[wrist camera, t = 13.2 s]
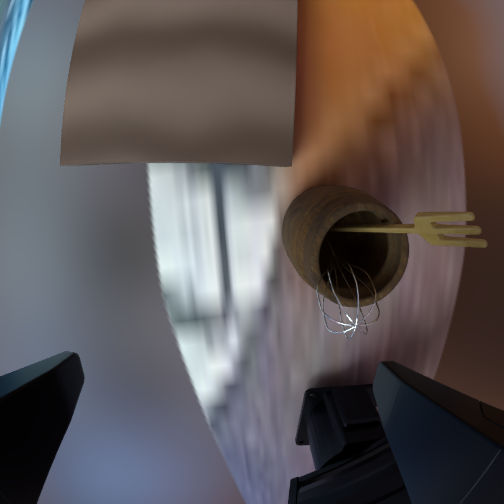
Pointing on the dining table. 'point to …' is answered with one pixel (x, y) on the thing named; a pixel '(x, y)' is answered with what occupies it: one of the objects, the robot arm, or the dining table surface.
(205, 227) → the dining table surface
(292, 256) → the utensil holder
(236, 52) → the walnut plinth
